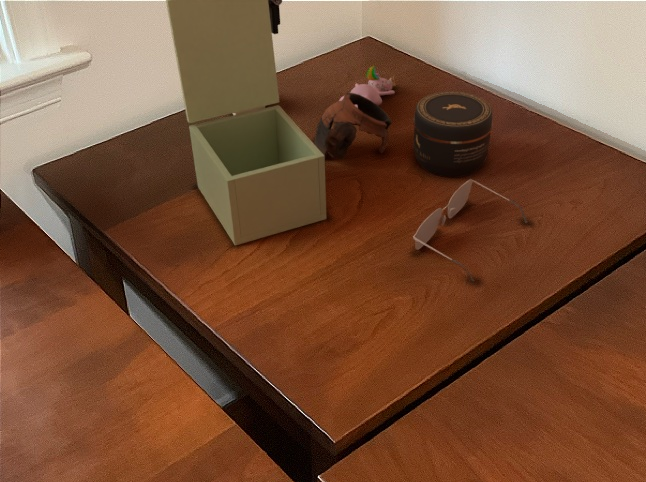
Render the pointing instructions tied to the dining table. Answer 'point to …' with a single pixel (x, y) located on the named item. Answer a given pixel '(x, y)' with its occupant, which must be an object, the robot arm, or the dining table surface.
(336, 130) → the brown crumpled piece
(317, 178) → the chest
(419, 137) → the jar
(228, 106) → the lid
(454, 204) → the eyeglasses
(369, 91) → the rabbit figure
